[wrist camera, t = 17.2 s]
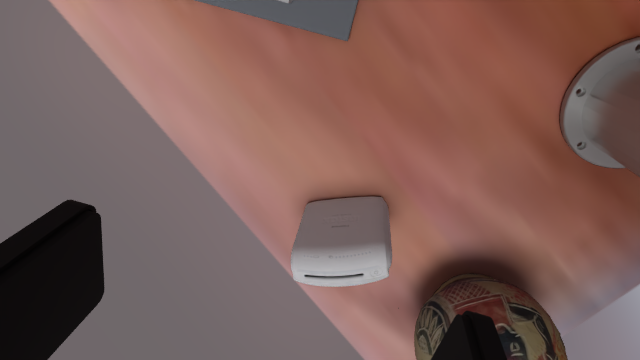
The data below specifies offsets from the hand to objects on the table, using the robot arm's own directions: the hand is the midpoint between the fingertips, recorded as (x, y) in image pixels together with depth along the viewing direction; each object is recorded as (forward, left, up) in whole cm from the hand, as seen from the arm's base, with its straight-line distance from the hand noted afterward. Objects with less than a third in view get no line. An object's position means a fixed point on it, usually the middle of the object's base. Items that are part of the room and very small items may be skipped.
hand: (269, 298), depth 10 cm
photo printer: (-4, +16, -33) cm, 37 cm away
